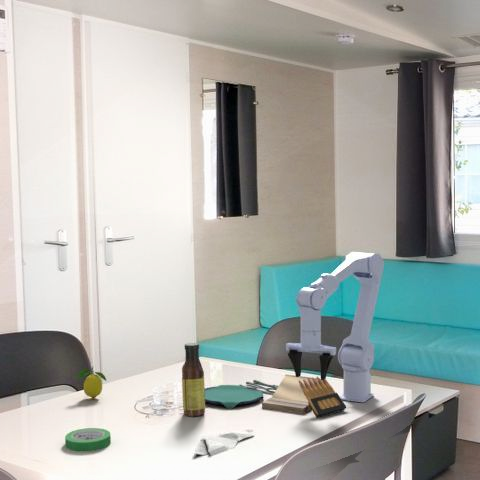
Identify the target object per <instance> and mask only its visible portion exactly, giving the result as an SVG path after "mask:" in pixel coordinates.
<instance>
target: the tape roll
mask: <svg viewBox="0 0 480 480" xmlns="http://www.w3.org/2000/svg"><path fill="white" fill-rule="evenodd" d="M64 439H65V443H64V445H65V448H66V449H67V450H70V451H74V452H93V451H94V452H95V451H99V450H103V449H105V448H108V447H109V446H110V445H111V443H112V442H111V432H110V431H109V430H108V429H104V428H98V427H87V428H81V429H80V428H79V429H76V430H72V431H70V432H68V433H67V434H66V435H65V438H64Z"/></svg>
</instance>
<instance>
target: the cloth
mask: <svg viewBox="0 0 480 480" xmlns="http://www.w3.org/2000/svg"><path fill="white" fill-rule="evenodd" d="M254 431H255V429H243V430H240V431H239V430H238V431H237V430H230V431H227V432H221V433H220V432H219V433H218V434H209V435H204V436H202V437H201V438H200V439H199V440H198V443H197V445H196V447H195V450H194V451H195V453H193V454H194V455H192V458H191V459H193V460H195V458H196V456H197V455H200V456H206V455H209V454H210V456H211V457H213V456H214V457H215V456H216V455H219V454H222V453H225V452H228V451H229V450H232V449H234V448H235V447H236V446H237V444H238V442H240V441H242V440H246V439H248V438H251V437H255V435H254V434H252V432H254ZM250 432H251V433H250Z"/></svg>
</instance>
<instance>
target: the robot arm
mask: <svg viewBox="0 0 480 480" xmlns="http://www.w3.org/2000/svg"><path fill="white" fill-rule="evenodd" d="M384 266H385V262H384V259H383V257H382V255H381V254H380V253H378V252H374V253H373V252H362V251H361V252H360V251H355V250H354V251H351V252H349V253H348V254H347V255H345V258H344V261H343V262H342V263H341V264H340V265H338V267H337V268H335V270H333V272H331V273H322V274H320V277H319V278H318V279H316V281H314V282H312V283H311V284H310V285H309V286H308V287H303V288H301V289H300V290H299V291H298V292H297V295H296V297H295V301H296V302H295V303H296V305H297V306H298V312H299V314H300V342H299V343H298V342H297V343H295V342H288V343H285V351H287V356H288V359H289V360H290V362H291V365H292V367H293V370H294V374H295V376H296V377H299V376H301V375H302V355H303V353H312V354H313V353H314V354H320V355H319V356H318V357H319V363H320V379H321V380H324V379H326V380H327V374H328V370H329V367H330V364H331V362H332V360H333V358H334V356H335V355H336V354H337V360H338V361H337V362H339V364H340V365H341V369H343V394H341V396H340V395H339V397H340V398H341V400H342V401H343V400H344V401H348V402H349V401H350V402H358V403H365V402H366V401H367V400H369V399H370V398H372V397H373V396H374V393H372V390H371V389H372V386H371V385H372V383H371V382H372V381H371V380H372V375H371V372H370V370H371V368H372V367H373V365H374V362H375V355H374V352H375V346H374V344H373V343H372V342H371V341H370V339H369V337H370V333H371V328H372V323H373V318H374V315H375V309H376V308H375V307H376V304H377V300H378V299H377V298H378V294H379V289H380V286H381V285H380V284H381V281H382V277H383V272H384ZM351 275H353V277H355V280H358V282H359V283H360V290H359V295H358V299H357V304H356V307H355V314H354V317H353V322H352V326H351V332H350V334H349V336H347V337H345V338H344V339H343V340H342V344H341V346H340V348H339V350H338V353H337V347H335V346H329V345H324V344H322V325H321V324H322V309H323V308H324V306H325V304H326V301H327V300H328V298H329V297H330V296H331V295H333V294H334V293H335V292H336V291H338V289H339V285H340V283H341V282H343V281H345V280H346V279H347V278H349V277H350V276H351Z"/></svg>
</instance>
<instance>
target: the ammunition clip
mask: <svg viewBox="0 0 480 480" xmlns="http://www.w3.org/2000/svg"><path fill="white" fill-rule="evenodd" d="M311 378H312V380H313V382H312V381H311V380H310V379H309V378H308V383H309V384H308V383H307V381H305V380H304V379H303V382H304V384H303V383H302V382H301V381H300V380H299V385H300V387H301V389H302V391H303V393H304V395H305V397H306V398H307V400H308V404H309V405H310V407H311V409H310V410H311V411H312V412H313V414H314V416H315V418H321V417H325V416H329V415H333V414H336V413H340V412H344V411H345V410H346V408H347V405H346V404H345V403H344V401H343V400H341V398H340V395H339V393H338V392H336V391H335V390H334V388H333V386H332V385H331V384H330V382H328V380H327V378H326V379H324V380H321V377H320V376H316V378H317V381H318V382H317V381H316V380H315V379H314V378H315V377H313V376H311ZM322 381H323V382H322ZM313 383H314V384H313ZM304 385H305V386H304Z"/></svg>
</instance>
